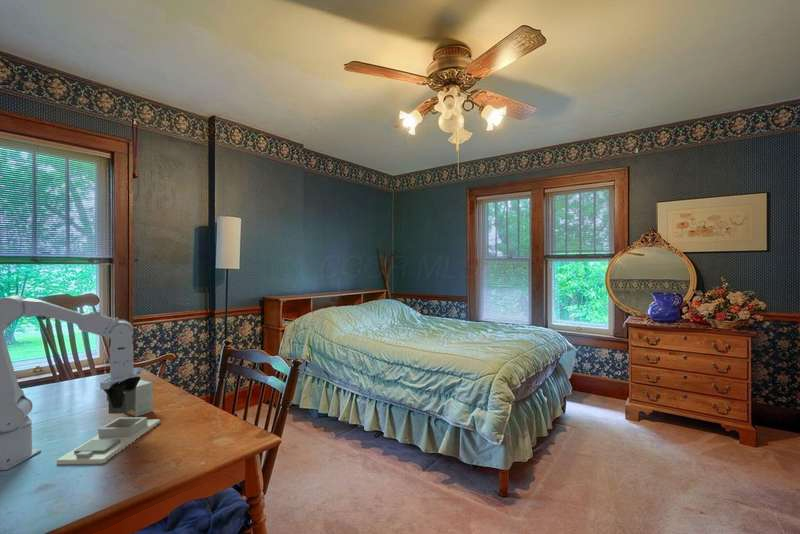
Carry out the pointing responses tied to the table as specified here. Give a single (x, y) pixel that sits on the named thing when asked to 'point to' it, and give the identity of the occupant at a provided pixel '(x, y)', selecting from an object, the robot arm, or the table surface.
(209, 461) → the table surface
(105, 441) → the socket base board
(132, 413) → the small box
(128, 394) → the plug
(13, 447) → the robot arm
